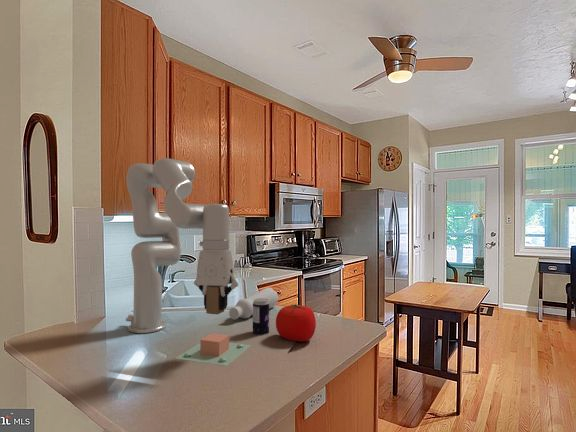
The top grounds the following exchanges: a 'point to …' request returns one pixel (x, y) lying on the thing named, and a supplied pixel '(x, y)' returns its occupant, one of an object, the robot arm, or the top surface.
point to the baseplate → (223, 359)
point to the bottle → (246, 305)
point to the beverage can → (261, 316)
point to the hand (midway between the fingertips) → (215, 308)
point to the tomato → (296, 323)
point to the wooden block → (213, 300)
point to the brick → (214, 344)
